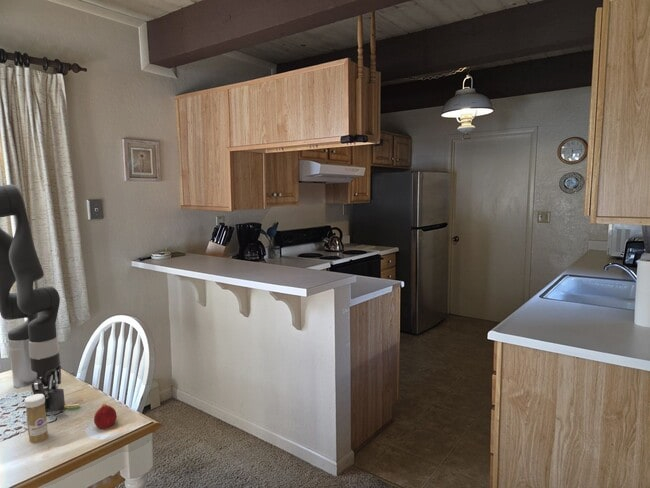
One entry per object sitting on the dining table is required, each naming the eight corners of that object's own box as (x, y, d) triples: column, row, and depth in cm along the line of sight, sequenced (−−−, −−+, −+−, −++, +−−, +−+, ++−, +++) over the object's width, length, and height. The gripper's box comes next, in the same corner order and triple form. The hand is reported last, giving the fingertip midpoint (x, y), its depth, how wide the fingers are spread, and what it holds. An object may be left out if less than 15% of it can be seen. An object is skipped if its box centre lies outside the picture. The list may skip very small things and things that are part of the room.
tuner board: (28, 411, 135) (27, 407, 135) (82, 397, 144) (82, 392, 144) (31, 434, 122) (31, 430, 122) (90, 417, 131) (90, 413, 131)
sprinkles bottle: (36, 449, 115) (31, 402, 114) (25, 445, 117) (20, 399, 115) (53, 440, 120) (48, 394, 118) (41, 436, 121) (36, 391, 119)
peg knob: (33, 412, 131) (31, 393, 131) (37, 408, 134) (35, 390, 133) (78, 409, 133) (76, 391, 132) (81, 405, 135) (79, 387, 135)
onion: (122, 425, 126) (120, 400, 125) (106, 436, 121) (104, 410, 120) (106, 422, 128) (104, 397, 127) (90, 433, 123) (88, 406, 122)
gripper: (42, 345, 137) (47, 395, 139) (18, 363, 123) (24, 418, 125) (68, 343, 138) (72, 393, 141) (46, 361, 124) (52, 416, 127)
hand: (49, 405), depth 133 cm, fingers open, 5 cm apart
